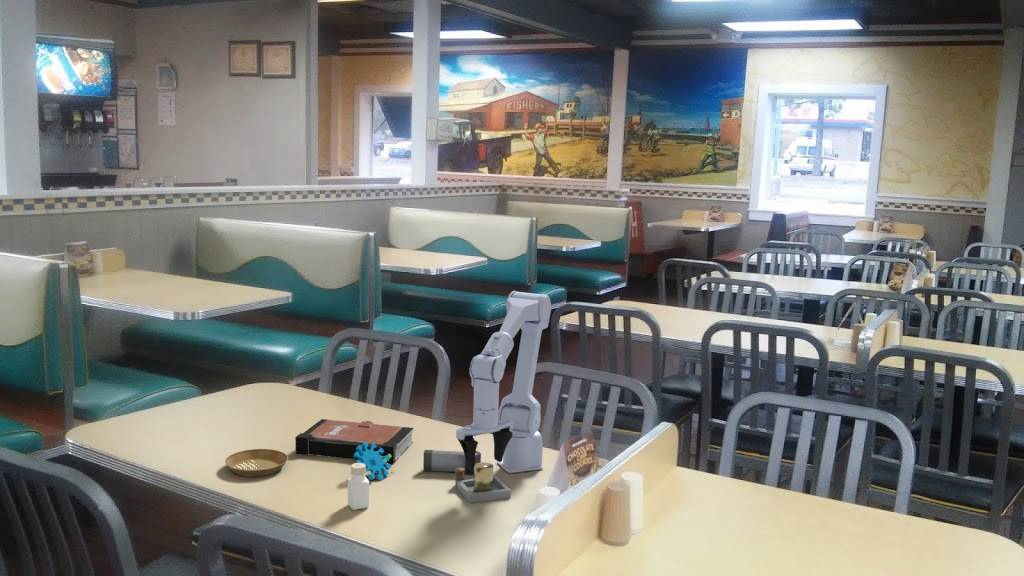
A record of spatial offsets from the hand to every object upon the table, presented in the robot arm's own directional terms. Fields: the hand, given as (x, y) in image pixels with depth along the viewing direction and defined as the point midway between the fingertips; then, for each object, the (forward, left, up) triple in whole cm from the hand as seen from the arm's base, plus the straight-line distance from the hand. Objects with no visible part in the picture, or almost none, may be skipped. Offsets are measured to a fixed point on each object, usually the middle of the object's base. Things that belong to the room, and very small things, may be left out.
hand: (484, 463), depth 202 cm
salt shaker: (+29, -2, -7) cm, 30 cm away
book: (+21, -39, -8) cm, 45 cm away
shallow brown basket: (+47, -32, -8) cm, 57 cm away
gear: (+21, -19, -7) cm, 29 cm away
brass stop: (0, 0, -7) cm, 7 cm away
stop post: (+4, -6, -7) cm, 10 cm away
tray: (0, 0, -7) cm, 7 cm away
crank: (+3, -15, -7) cm, 17 cm away
